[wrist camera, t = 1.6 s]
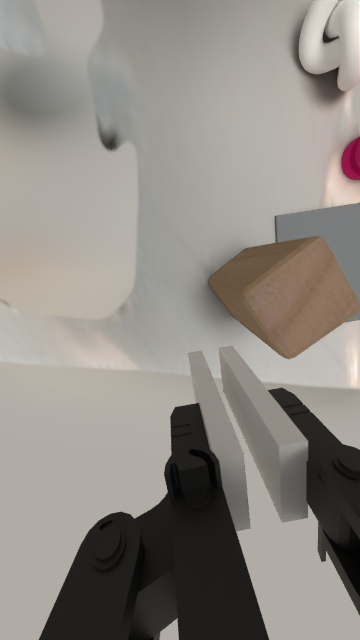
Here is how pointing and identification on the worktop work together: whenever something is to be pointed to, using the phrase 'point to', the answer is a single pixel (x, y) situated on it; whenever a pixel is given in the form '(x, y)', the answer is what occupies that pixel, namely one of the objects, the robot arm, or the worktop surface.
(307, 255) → the block
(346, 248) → the mat
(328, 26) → the white decorative knot
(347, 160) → the pepper mill
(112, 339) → the worktop surface
